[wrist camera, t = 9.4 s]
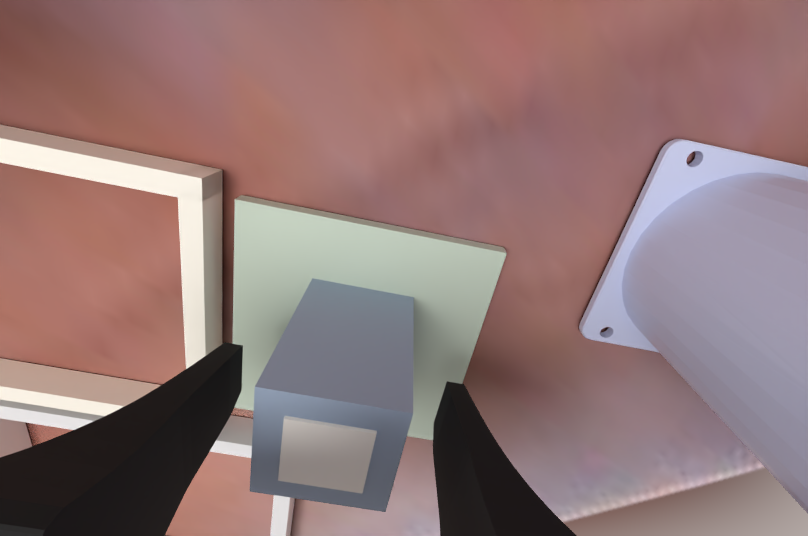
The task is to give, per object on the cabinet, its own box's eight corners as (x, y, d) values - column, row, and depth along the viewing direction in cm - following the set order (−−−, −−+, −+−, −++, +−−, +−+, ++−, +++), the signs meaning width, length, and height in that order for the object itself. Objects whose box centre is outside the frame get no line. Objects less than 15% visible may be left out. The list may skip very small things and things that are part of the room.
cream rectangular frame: (222, 169, 14) (201, 178, 13) (222, 407, 19) (206, 432, 17) (-217, 80, 13) (-291, 79, 12) (-98, 354, 18) (-141, 376, 17)
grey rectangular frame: (303, 427, 19) (295, 452, 18) (287, 561, 24) (279, 589, 23) (-5, 376, 18) (-39, 399, 17) (42, 526, 23) (18, 553, 22)
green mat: (503, 247, 15) (506, 253, 14) (441, 432, 19) (442, 442, 19) (241, 194, 14) (234, 199, 14) (236, 397, 19) (231, 407, 18)
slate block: (413, 297, 15) (413, 416, 10) (394, 375, 17) (384, 515, 11) (312, 278, 15) (253, 389, 10) (303, 359, 17) (248, 494, 11)
